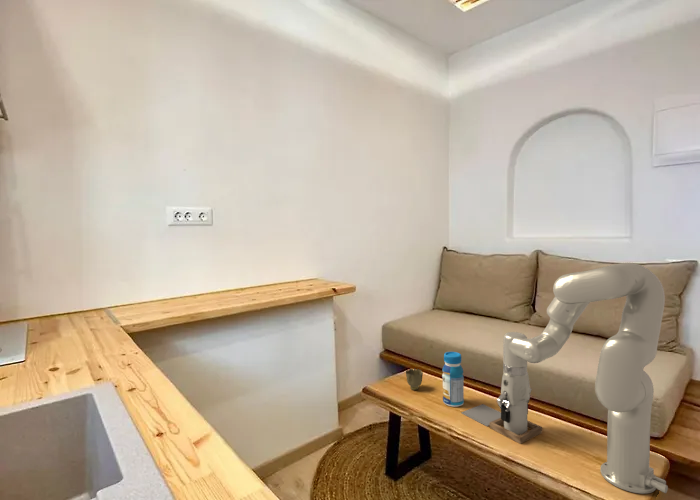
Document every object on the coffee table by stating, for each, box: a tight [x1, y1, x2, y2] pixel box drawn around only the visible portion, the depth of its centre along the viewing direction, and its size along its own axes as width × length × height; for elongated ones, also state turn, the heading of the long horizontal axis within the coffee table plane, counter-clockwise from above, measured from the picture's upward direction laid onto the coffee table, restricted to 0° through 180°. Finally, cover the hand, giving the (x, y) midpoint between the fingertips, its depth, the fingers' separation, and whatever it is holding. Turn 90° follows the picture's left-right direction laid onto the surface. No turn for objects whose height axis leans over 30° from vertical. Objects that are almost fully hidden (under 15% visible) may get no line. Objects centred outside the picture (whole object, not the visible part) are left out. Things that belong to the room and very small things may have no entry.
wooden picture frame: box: [489, 418, 543, 444], centre depth 134 cm, size 12×12×2 cm
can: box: [503, 399, 528, 436], centre depth 134 cm, size 8×8×12 cm
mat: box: [461, 403, 501, 428], centre depth 145 cm, size 12×12×1 cm
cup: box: [405, 368, 424, 391], centre depth 170 cm, size 8×7×8 cm
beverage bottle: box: [441, 351, 465, 408], centre depth 155 cm, size 8×8×20 cm
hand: (514, 417), depth 134 cm, fingers open, 9 cm apart
